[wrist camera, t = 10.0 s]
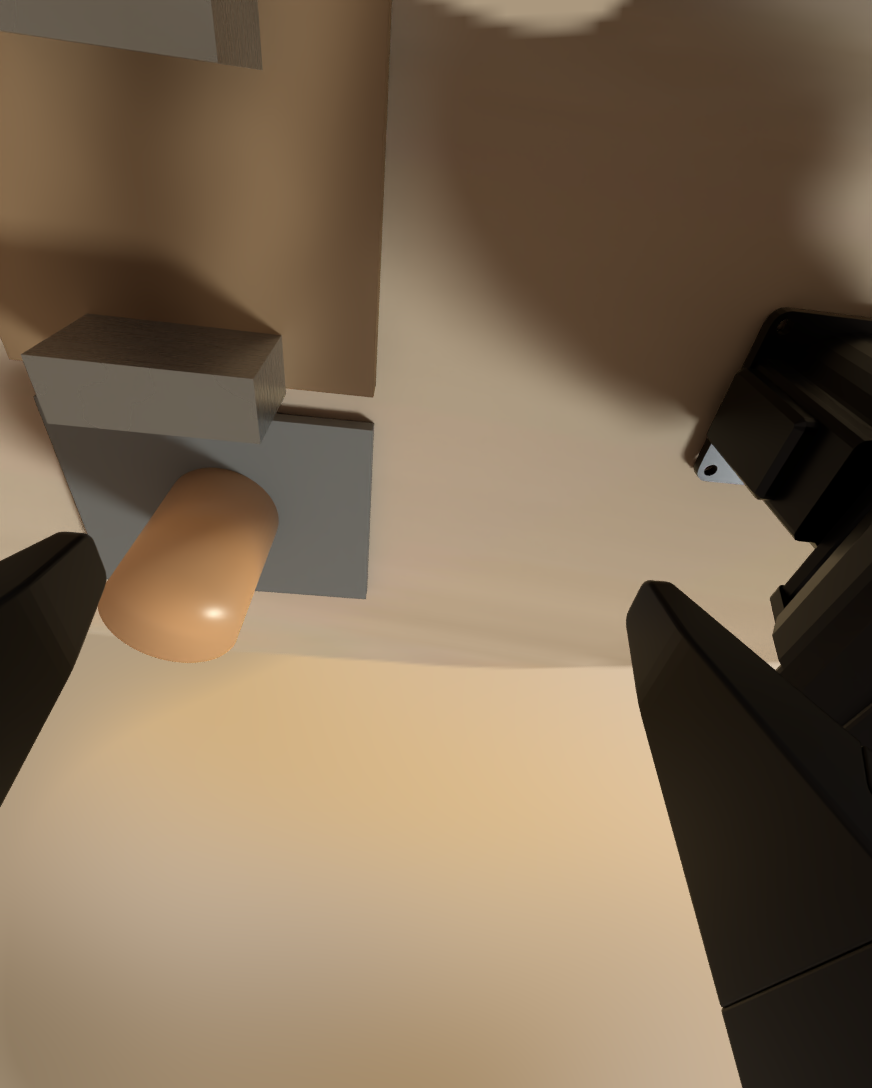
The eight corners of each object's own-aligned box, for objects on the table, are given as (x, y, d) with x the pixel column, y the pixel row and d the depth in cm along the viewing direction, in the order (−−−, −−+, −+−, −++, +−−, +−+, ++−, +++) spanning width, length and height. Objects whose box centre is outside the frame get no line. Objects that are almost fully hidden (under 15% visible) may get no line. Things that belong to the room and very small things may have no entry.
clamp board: (392, -8, 13) (389, -16, 12) (375, 385, 19) (373, 397, 18) (-141, -95, 12) (-181, -108, 11) (27, 348, 18) (9, 359, 18)
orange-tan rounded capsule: (274, 473, 21) (229, 577, 16) (282, 557, 24) (245, 666, 19) (159, 462, 21) (79, 565, 16) (180, 548, 23) (117, 658, 19)
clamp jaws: (254, -51, 12) (200, -95, 9) (285, 393, 18) (260, 444, 16) (-34, -98, 11) (-181, -160, 9) (105, 375, 18) (47, 423, 15)
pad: (374, 423, 20) (372, 430, 20) (366, 590, 26) (365, 599, 25) (43, 389, 19) (33, 396, 19) (111, 570, 25) (105, 579, 25)
